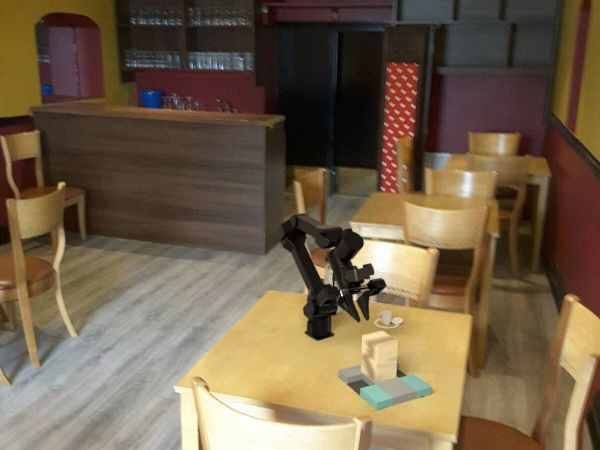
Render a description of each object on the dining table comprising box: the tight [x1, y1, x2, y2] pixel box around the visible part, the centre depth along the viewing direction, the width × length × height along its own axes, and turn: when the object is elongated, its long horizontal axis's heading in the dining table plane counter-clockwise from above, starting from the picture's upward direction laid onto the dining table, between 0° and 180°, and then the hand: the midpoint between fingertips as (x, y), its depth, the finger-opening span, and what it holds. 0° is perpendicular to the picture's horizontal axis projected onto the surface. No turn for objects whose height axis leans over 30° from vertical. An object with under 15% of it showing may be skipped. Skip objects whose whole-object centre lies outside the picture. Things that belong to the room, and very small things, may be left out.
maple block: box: [360, 330, 399, 383], centre depth 157 cm, size 7×6×10 cm
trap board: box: [338, 362, 417, 406], centre depth 157 cm, size 18×16×2 cm
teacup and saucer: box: [373, 310, 404, 329], centre depth 193 cm, size 9×8×4 cm
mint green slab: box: [359, 373, 433, 411], centre depth 152 cm, size 7×16×2 cm, turn 117°
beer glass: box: [323, 263, 344, 315], centre depth 201 cm, size 7×7×15 cm
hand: (363, 321), depth 162 cm, fingers open, 2 cm apart
